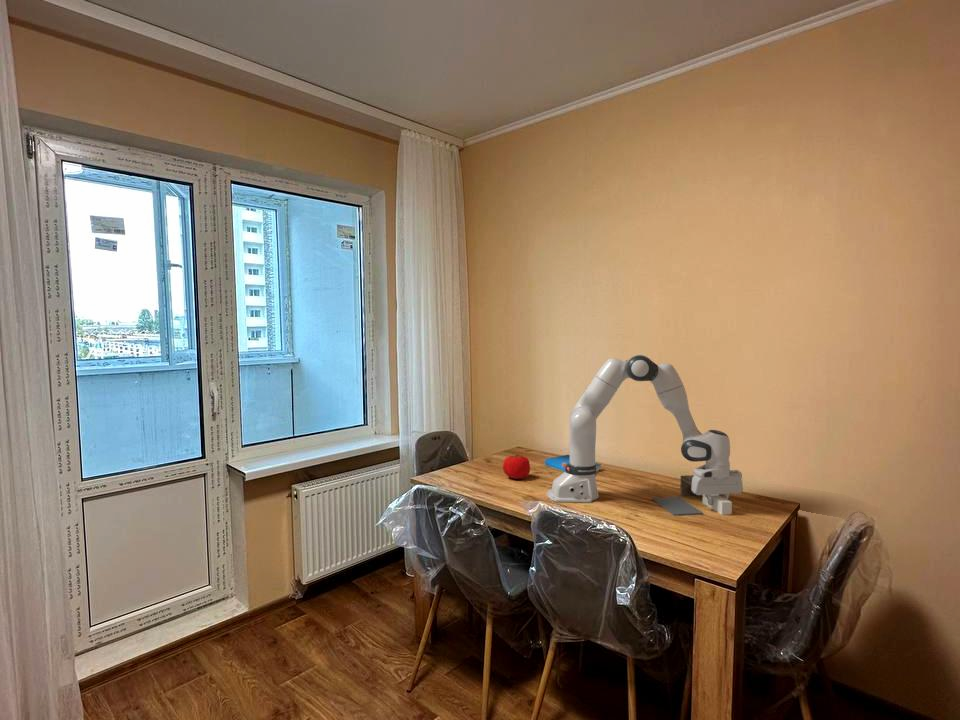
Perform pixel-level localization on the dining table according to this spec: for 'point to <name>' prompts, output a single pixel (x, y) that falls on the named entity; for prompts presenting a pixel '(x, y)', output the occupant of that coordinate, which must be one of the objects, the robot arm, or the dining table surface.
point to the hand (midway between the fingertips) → (716, 504)
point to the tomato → (516, 466)
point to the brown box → (686, 485)
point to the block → (719, 504)
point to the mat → (677, 506)
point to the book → (559, 460)
